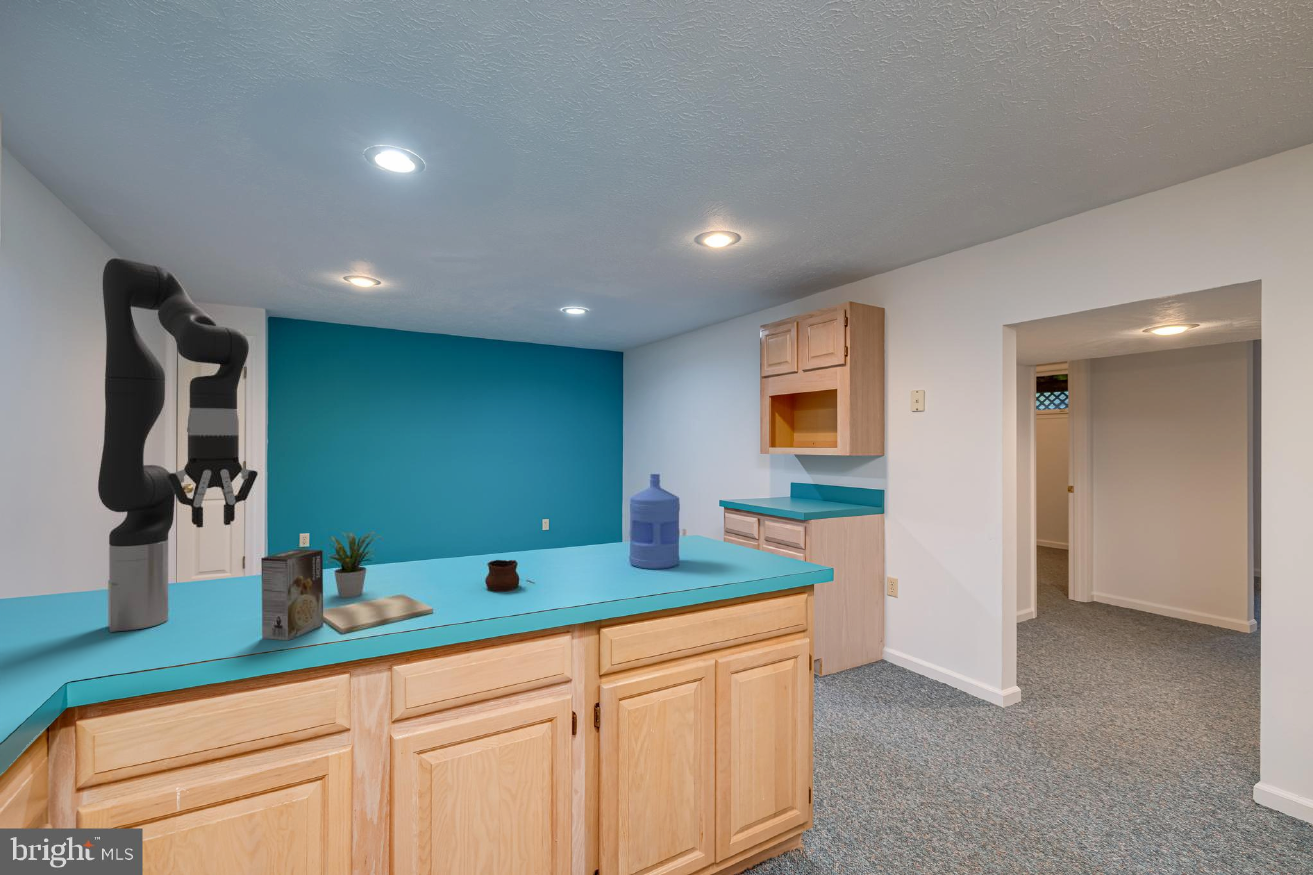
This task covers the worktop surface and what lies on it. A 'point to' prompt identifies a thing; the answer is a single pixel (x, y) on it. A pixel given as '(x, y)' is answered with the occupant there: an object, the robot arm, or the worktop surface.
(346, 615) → the cutting board
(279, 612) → the coffee box
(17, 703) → the worktop surface
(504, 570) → the ceramic pot
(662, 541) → the water jug
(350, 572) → the house plant
